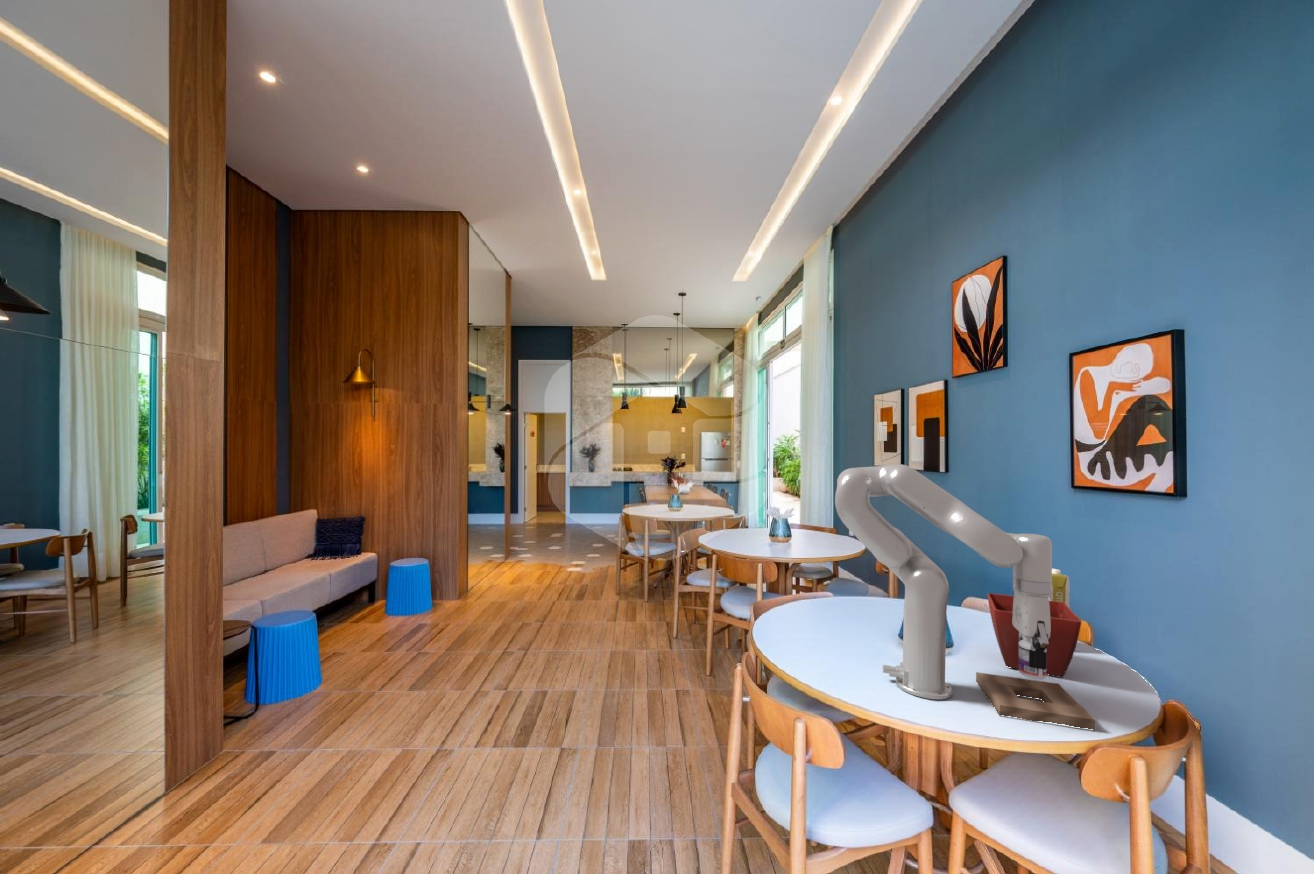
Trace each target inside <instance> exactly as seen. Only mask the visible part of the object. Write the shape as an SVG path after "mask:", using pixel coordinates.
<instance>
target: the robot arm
mask: <svg viewBox="0 0 1314 874" xmlns="http://www.w3.org/2000/svg"><path fill="white" fill-rule="evenodd" d="M888 496H889V497H890V496H893V497H895V498H896V499H897V500H899V501H900V502H902V503H903V504H904V505H906V506H907V507H908V508H910V509H911V510H912V511H914V512H916V513H917V514H918V515H919V516H921V517H923V519H925V520H927V521H928V522H930V523H931V524H932V525H934V526H935V527H937V529H939V530H942V531H944V532H945V533H948V534H949V535H951V536H952V537H954V538H956V539H958V540H959V541H960V542H962V543H963V544H965V545H966V546H967V547H969V548H970V549H972V550H974V551H975V552H976V553H977V554H978V555H979V556H980V557H982V558H983V559H985V560H986V561H988V562H990V563H991V564H992V565H994V566H996V567H998V568H1002V569H1008V568H1009V569H1010V568H1012V591H1014V593H1013V596H1014V599H1013V615H1012V624H1013V626H1014V627H1015V628H1016V629H1017V630H1018V631H1019V641H1020V640H1023V638H1022V634H1023V635H1024V636H1025V637H1027V638H1029V637H1030V646H1031V650H1029V666H1030V667H1031V668H1037V669H1046V652H1047V649H1046V648H1047V645H1048V644H1049V642H1048V639H1049V638H1050V632H1051V622H1050V606H1049V597H1050V596H1052V568H1053V544H1052V540H1051V539H1050V538H1049V537H1048V536H1046V535H1043V534H1042V535H1041V534H1037V533H1011V532H1005V531H1004V530H1002V529H1001V528H999V527H998V526H996V525H995V524H994V523H992V522H991V521H990V520H988V519H986V518H985V517H983V516H982V515H980V514H979V513H977V512H976V511H974V510H973V509H972V508H970V507H968V505H966V503H964V502H963V501H962V500H960V499H958V498H957V497H955V496H954V495H952V494H951V493H949V492H948V491H946V490H945V489H944V488H942V487H940V486H939V485H937V484H936V483H934V481H932V480H931V479H929V478H927V476H925V475H923V474H922V473H920V472H919V471H917V470H916V469H915V468H913V467H911V466H909V465H907V464H901V463H899V464H898V463H894V464H886V465H877V466H876V465H875V466H865V467H864V466H863V467H849V468H847V469H844V470H842V471H841V472H840V473H839V475H838V477H837V479H836V490H835V495H834V504H835V509H836V512H837V513H836V514H837V515H838V517H839V518H840V520H841V522H842V523H843V525H844V526H845V527H846V528H847V529H848V530H849V531H850V533H852V534H853V535H854V536H855V537H856V539H858V540H859V541H860V542H861V543H862V545H863V546H864V547H865V548H866V549H867V550H869V552H871V554H872V555H873V556H874V558H875V559H876V560H877V561H878V562H880V563H881V564H882V565H884V566H885V567H887V569H889V571H890V572H891V573H893V574H894V575H895V576H896V577H897V578H898V579H899V580H900V581H901V582H902V583H903V585H904V600H903V601H904V603H903V616H902V617H903V619H902V620H903V627H902V628H903V629H902V631H903V634H902V635H903V636H902V637H903V640H902V662H899V665H895V666H891V665H888V664H882V672H883V674H884V673H885V674H888V676H889V677H890V678H891V677H892V678H895V684H896V685H897V687H898V688H900V689H901V690H903V691H904V692H906V693H908V694H910V695H913V696H916V697H919V698H923V699H927V700H928V699H929V700H946V699H949V698H951V697H952V695H953V689H952V686H951V685H949V684H948V682H946V652H947V651H946V650H947V647H946V646H947V641H946V640H947V629H946V628H947V627H946V626H947V608H948V602H949V601H948V600H949V595H950V592H949V591H950V587H949V581H948V579H947V576H946V574H945V572H944V570H942V569H941V568H940V567H939V565H937V564H936V563H935V562H934V561H933V560H932V559H931V558H930V557H928V556H927V554H925V553H924V552H923V551H922V550H921V549H920V548H919V547H917V546H916V544H915V543H913V542H912V541H911V540H910V539H909V538H908V537H907V536H906V535H905V534H904V533H903V532H902V531H901V530H899V528H896V527H894V526H893V525H892V524H891V523H889V521H888V520H886V519H885V517H884V516H882V514H881V513H880V512H879V511H877V510H876V509H875V508H874V507H873V505H872V504H871V500H870V498H875V497H877V498H878V497H888ZM1034 634H1035V635H1039V637H1033V636H1034ZM1034 640H1039V642H1036V644H1035V642H1034Z"/></svg>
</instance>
